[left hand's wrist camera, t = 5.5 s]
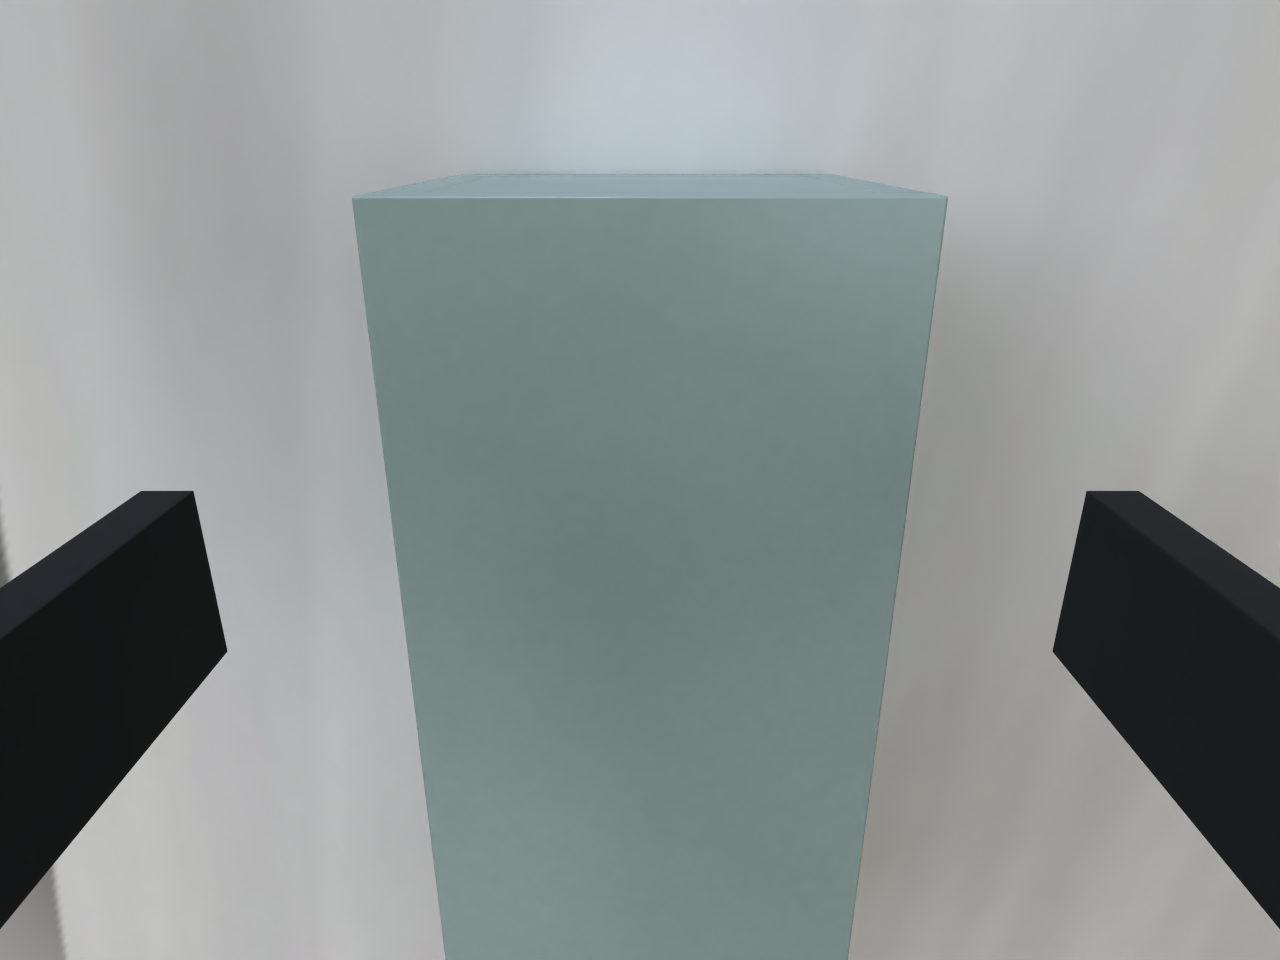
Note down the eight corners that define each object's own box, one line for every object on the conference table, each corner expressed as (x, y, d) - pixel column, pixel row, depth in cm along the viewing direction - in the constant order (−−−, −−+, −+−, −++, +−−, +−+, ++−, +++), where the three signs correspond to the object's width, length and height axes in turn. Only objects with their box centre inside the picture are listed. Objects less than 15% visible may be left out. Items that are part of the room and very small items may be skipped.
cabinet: (786, 768, 32) (841, 1011, 23) (504, 767, 32) (451, 1010, 23) (835, 174, 24) (949, 195, 15) (460, 174, 24) (350, 195, 15)
